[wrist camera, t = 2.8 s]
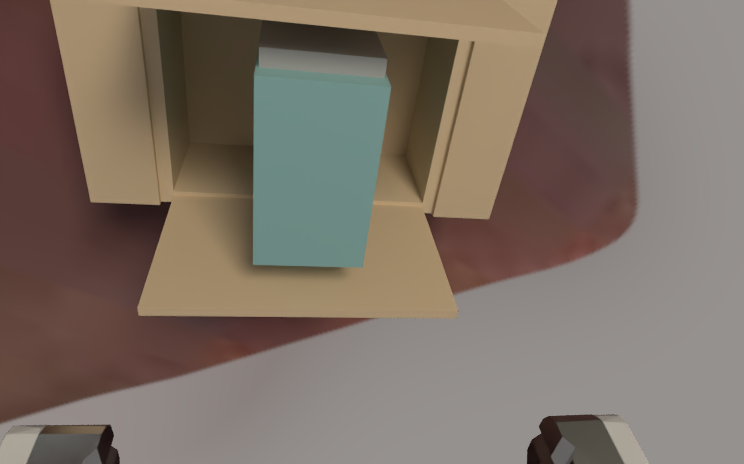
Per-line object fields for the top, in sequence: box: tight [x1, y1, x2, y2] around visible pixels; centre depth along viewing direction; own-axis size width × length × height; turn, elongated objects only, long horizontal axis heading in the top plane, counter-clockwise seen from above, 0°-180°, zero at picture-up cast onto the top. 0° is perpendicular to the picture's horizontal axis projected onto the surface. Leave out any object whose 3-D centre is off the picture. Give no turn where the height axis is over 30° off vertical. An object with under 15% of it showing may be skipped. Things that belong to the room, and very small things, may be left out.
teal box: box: [253, 20, 391, 268], centre depth 22 cm, size 8×4×12 cm, turn 172°
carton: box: [50, 0, 557, 318], centre depth 23 cm, size 11×19×13 cm, turn 82°
